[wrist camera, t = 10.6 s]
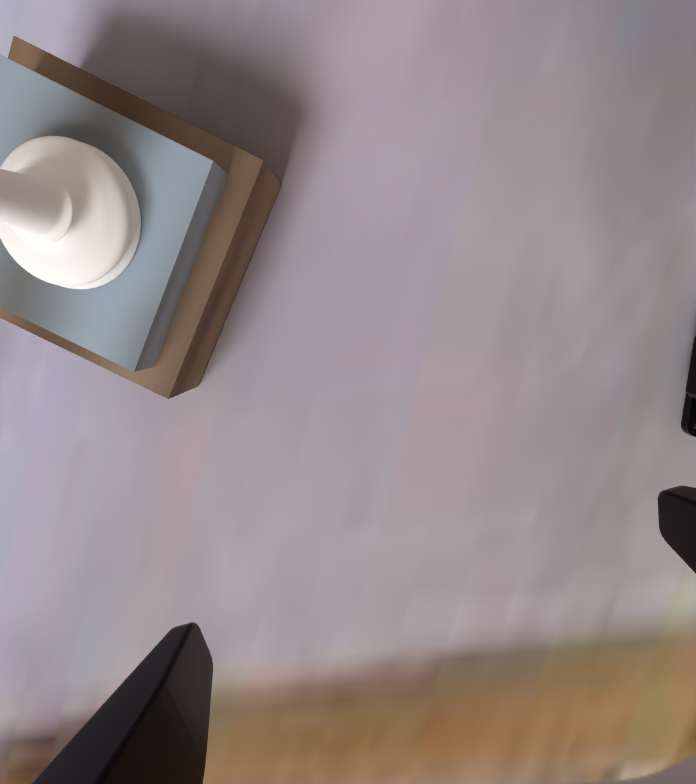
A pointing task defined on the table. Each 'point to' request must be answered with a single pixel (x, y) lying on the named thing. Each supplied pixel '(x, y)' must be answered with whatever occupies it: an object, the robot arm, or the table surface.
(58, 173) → the chess piece
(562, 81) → the table surface
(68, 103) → the stepped pedestal base
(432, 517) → the table surface
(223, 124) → the table surface
